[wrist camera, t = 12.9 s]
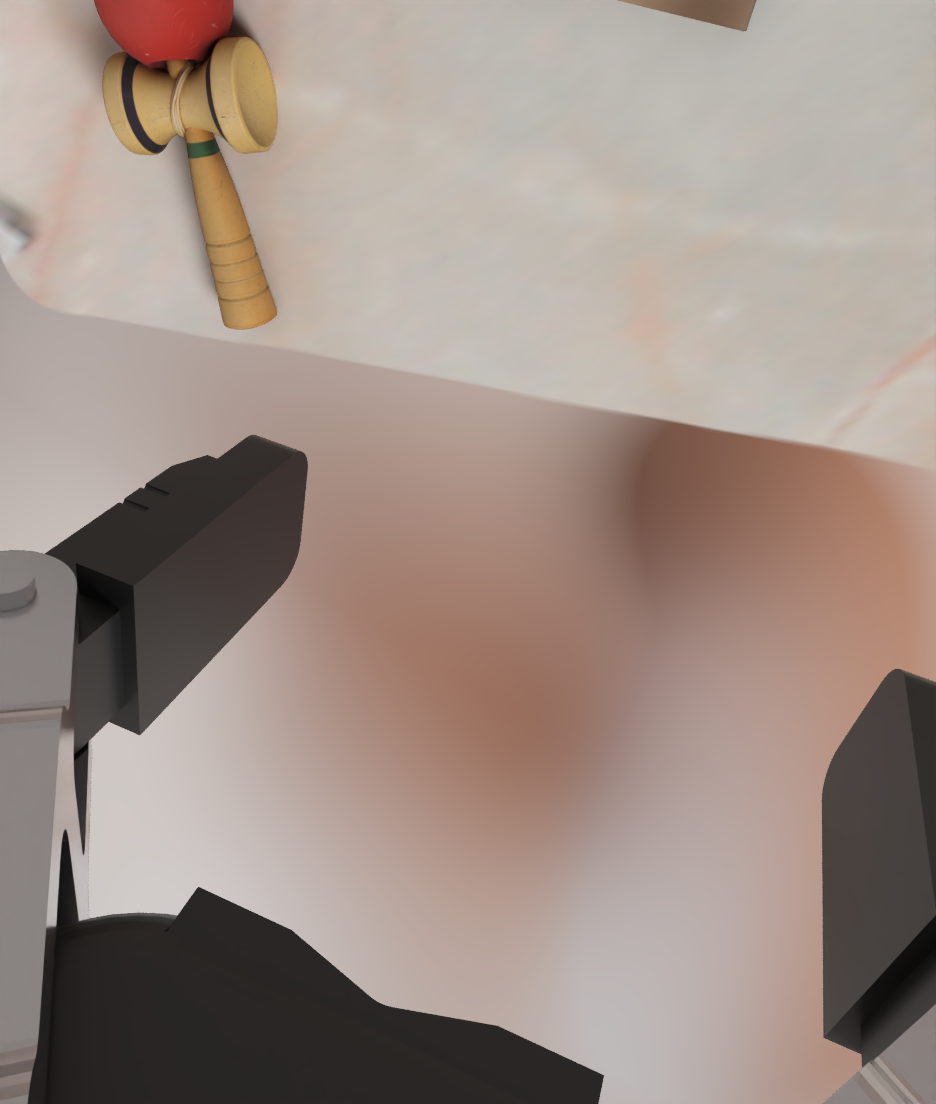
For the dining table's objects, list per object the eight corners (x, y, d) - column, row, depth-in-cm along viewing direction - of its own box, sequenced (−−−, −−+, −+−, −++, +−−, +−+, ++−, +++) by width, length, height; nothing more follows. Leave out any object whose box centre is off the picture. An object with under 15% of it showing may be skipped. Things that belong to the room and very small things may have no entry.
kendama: (347, 299, 47) (256, -108, 36) (276, 349, 43) (148, -94, 32) (243, 289, 51) (131, -85, 40) (167, 335, 47) (19, -69, 36)
